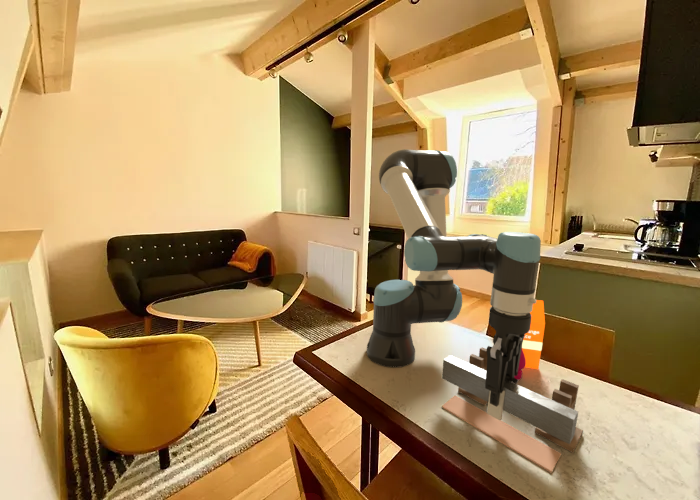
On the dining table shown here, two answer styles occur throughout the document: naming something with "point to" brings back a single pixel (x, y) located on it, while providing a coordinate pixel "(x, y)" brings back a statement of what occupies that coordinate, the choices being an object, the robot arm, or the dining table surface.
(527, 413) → the rail
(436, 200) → the robot arm
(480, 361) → the hook stands
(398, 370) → the dining table surface
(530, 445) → the mat
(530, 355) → the orange juice
